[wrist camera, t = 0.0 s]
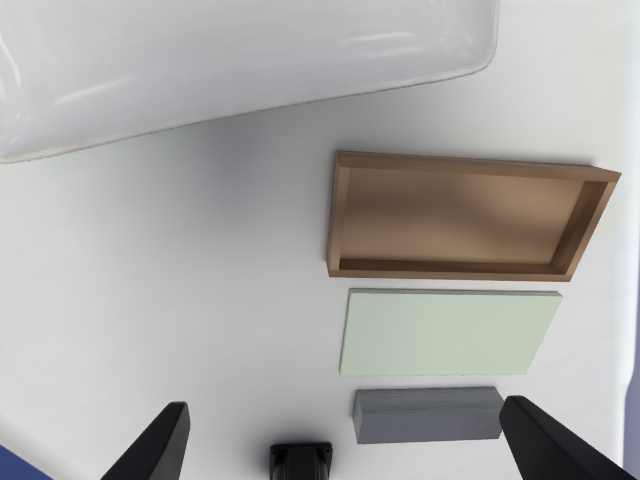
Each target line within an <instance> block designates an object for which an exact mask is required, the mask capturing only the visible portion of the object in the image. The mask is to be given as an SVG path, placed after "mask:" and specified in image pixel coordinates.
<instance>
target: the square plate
mask: <svg viewBox="0 0 640 480" xmlns="http://www.w3.org/2000/svg"><path fill="white" fill-rule="evenodd" d="M499 6H500V0H0V163H1V164H9V163H18V162H24V161H31V160H36V159H42V158H47V157H53V156H57V155H61V154H64V153H69V152H73V151H77V150H81V149H85V148H90V147H94V146H98V145H103V144H107V143H111V142H115V141H120V140H124V139H128V138H133V137H137V136H141V135H145V134H150V133H156V132H160V131H163V130H168V129H173V128H175V127H180V126H185V125H190V124H195V123H200V122H205V121H210V120H215V119H220V118H225V117H231V116H236V115H242V114H247V113H253V112H258V111H263V110H268V109H274V108H279V107H285V106H293V105H298V104H303V103H311V102H317V101H323V100H329V99H335V98H340V97H346V96H353V95H360V94H368V93H373V92H379V91H385V90H391V89H396V88H403V87H410V86H415V85H421V84H428V83H434V82H439V81H444V80H449V79H453V78H458V77H463V76H466V75H470V74H474V73H476V72H478V71H481V70H483V69H485V68H486V67H487V66H488V65H489V64H490V63H491V61H492V59H493V56H494V54H495V49H496V45H497V33H498V19H499Z"/></svg>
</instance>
